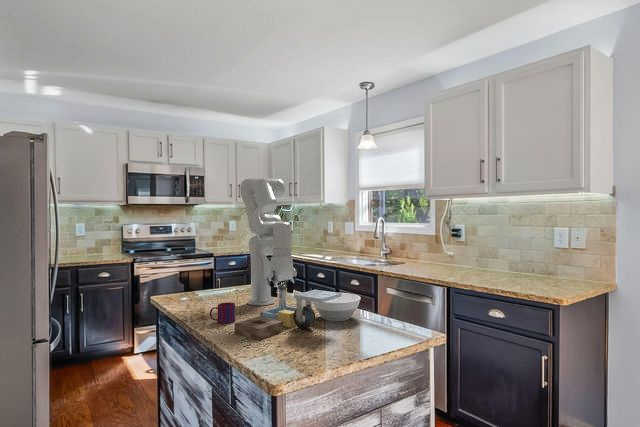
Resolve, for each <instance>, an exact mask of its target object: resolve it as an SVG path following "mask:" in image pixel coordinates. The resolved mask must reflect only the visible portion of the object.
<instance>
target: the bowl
mask: <svg viewBox="0 0 640 427" xmlns="http://www.w3.org/2000/svg"><path fill="white" fill-rule="evenodd" d="M340 293H341V297H338V298H335V299H332V300H328V301H325V302H322V303H321V302H315V301H312V304H314V307H315V308H316V310H317V312H318V314H319V315H320V317H322V319H323V320H325V321H329V322H345V321H348V320H350V319H351V317H352V316H353V315H354V314H355V312H356V311H357V309H358V308H359V305H360V301H361V298H362V297H361V296H360V295H359V294H358V295H357V294H354V293H347V292H340Z"/></svg>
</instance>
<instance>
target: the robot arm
mask: <svg viewBox="0 0 640 427" xmlns="http://www.w3.org/2000/svg"><path fill="white" fill-rule="evenodd" d="M239 188H240V189H239V192H240V196H241V199H242V202H243V203H244V206H245V209H246V214H247V221H248V228H249V231H250V232H251V233H252V234H254V236H251V237H250V238H249V241H248V249H249V255H250V288H251V289H250V297H251V298H250V299H248V300H247V304H248V305H251V306H268V305H269V306H270V305H272V304H275V303H276V299H275V298H278V297H279V291H278V285H279V283H280V282H286V281H287V283H286V285H287V288H286V294H287V293H288V294H294V284H295V281H296V278H297V274H298V271H297V270H295V269H294V260H293V255H292V224H291V223H290V222H286V221H282V218H281V217H280V216H279V215H278V214H270V213H273V212H274V211H275V210H276V209H277V208H278V205H279V204H278V200H277V198H278V197H279V198H280V197H283V196H284V194H285V193H286V186H285V183H284V182H283V180H282V179H280V178H264V177H263V178H254V177H253V178H246V179H243V180H242V181H241V183H240V186H239ZM267 256H271V257H270V259H268V257H267Z"/></svg>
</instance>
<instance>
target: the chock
mask: <svg viewBox="0 0 640 427" xmlns="http://www.w3.org/2000/svg"><path fill="white" fill-rule="evenodd" d="M293 315H294V311H289V310H282V311H278V320H279V321H283V327H285V328H286V327H287V328H293V327H294V326H295V327H296V324H295V322H294V319H293Z"/></svg>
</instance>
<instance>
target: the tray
mask: <svg viewBox="0 0 640 427" xmlns="http://www.w3.org/2000/svg"><path fill="white" fill-rule="evenodd" d="M286 310H289V311H295V310H296V306H289V305H286ZM278 311H279V306H277V307H274V308H273V307H272V308H270V309H267V310H263V311H260V317H265V318H270V319H274V320H278Z"/></svg>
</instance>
